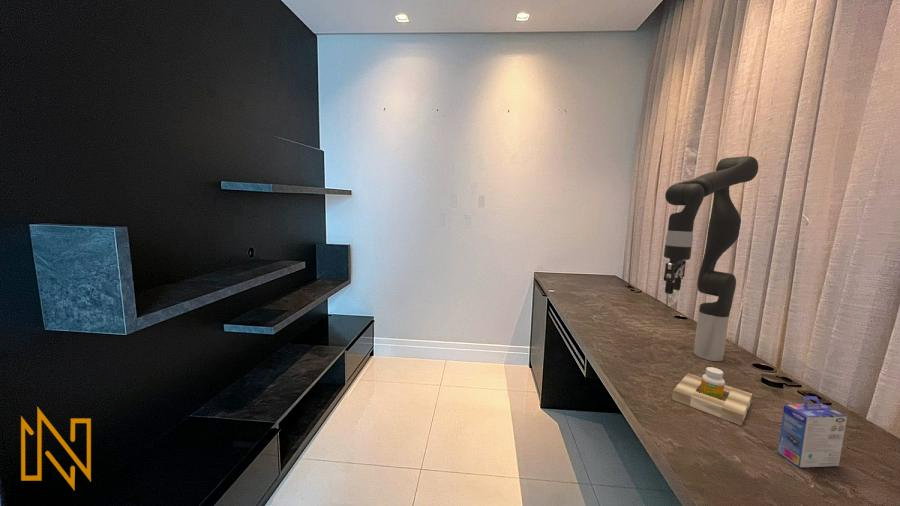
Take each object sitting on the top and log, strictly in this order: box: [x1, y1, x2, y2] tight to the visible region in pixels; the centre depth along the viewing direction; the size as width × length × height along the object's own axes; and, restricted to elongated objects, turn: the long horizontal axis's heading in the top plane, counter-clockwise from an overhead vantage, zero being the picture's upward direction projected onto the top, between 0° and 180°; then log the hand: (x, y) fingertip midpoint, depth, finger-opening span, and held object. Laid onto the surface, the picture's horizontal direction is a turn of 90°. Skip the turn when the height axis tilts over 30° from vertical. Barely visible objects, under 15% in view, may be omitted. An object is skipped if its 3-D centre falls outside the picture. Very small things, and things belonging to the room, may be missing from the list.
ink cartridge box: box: [777, 395, 848, 468], centre depth 78 cm, size 10×6×14 cm, turn 95°
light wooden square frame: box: [671, 372, 753, 426], centre depth 101 cm, size 16×16×3 cm
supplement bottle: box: [700, 366, 726, 401], centre depth 101 cm, size 5×5×10 cm
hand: (672, 291), depth 117 cm, fingers open, 8 cm apart
